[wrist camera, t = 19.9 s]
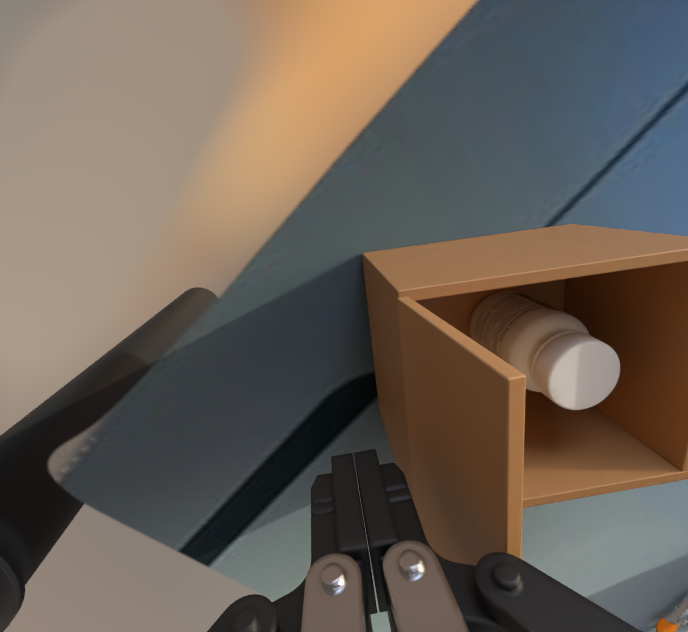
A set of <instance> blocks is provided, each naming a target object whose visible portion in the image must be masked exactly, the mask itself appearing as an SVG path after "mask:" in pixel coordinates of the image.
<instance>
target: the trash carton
mask: <svg viewBox="0 0 688 632" xmlns="http://www.w3.org/2000/svg"><path fill="white" fill-rule="evenodd" d="M362 258H363V268H364V277H365V286H366V295H367V304H368V313H369V322H370V331H371V340H372V349H373V359H374V368H375V377H376V386H377V395H378V404H379V413H380V415H381V419H382V422H383V425H384V428H385V431H386V434H387V437H388V440H389V443H390V446H391V449H392V452H393V455H394V458H395V461H396V464H397V466H398V467H399V468H400V469H401V470H402V471H403V472H404V475H405V478H406V481H407V484H408V488H409V490H410V492H411V495H412V499H413V501H414V494H413V482H412V471H411V459H410V447H409V435H408V423H407V411H406V399H405V388H404V376H403V364H402V352H401V340H400V328H399V316H398V305H397V298H400V297H406V296H407V297H409V298H411V299H412V300H414V301H415V302H417V303H418V304H420V305H421V306H423V307H424V308H426V309H427V310H429V311H430V312H432V313H433V314H435V315H436V316H438V317H439V318H441V319H442V320H444V321H445V322H447V323H448V324H450V325H451V326H453V327H454V328H456V329H457V330H459V331H460V332H462V333H463V334H465V335H466V336H468V337H469V338H471V335H470V321H471V317H472V315H473V313H474V311H475V309H476V308H477V306H478V305H479V304H480V303H481V302H482V301H483V300H484V299H485V298H487V297H488V296H490V295H492V294H494V293H497V292H500V291H507V290H509V291H516V292H520V293H522V294H525V295H527V296H529V297H532V298H534V299H536V300H538V301H541V302H543V303H545V304H548V305H550V306H552V307H554V308H556V309H559V310H561V311H563V312H565V313H568V314H570V315H572V316H573V317H575V318H577V319H578V320H579V321H581V322H582V323H583V324H584V326H585V327H586V328H587V330H588V332H589V334H590V336H592V337H594V338H596V339H598V340H600V341H602V342H603V343H605V344H607V345H609V346H610V347H611V348H612V349H613V350H614V351H615V352H616V354H617V356H618V358H619V361H620V375H619V378H618V381H617V383H616V385H615V387H614V389H613V390H612V391H611V393H610V394H609V395H608V396H607V397H606V398H605V399H604V400H602V401H601V402H600V403H598V404H596V405H594V406H592V407H589V408H586V409H582V410H569V409H565V408H563V407H560V406H558V405H557V404H555V403H554V402H553V401H552V400H550V399H549V398H548V397H547V396H545V395H544V394H543V393H542V392H535V391H531V390H528V389H526V391H525V428H524V465H523V502H522V508H525V507H531V506H537V505H542V504H548V503H554V502H560V501H565V500H571V499H577V498H582V497H588V496H594V495H600V494H605V493H611V492H617V491H622V490H628V489H634V488H639V487H645V486H651V485H657V484H662V483H668V482H674V481H679V480H685V479H688V236H678V235H669V234H660V233H650V232H641V231H632V230H622V229H613V228H604V227H594V226H585V225H575V224H567V225H560V226H553V227H546V228H538V229H531V230H524V231H517V232H510V233H503V234H495V235H488V236H481V237H474V238H467V239H460V240H452V241H445V242H438V243H431V244H424V245H416V246H409V247H402V248H395V249H388V250H381V251H373V252H366V253H362ZM471 339H472V338H471Z"/></svg>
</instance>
